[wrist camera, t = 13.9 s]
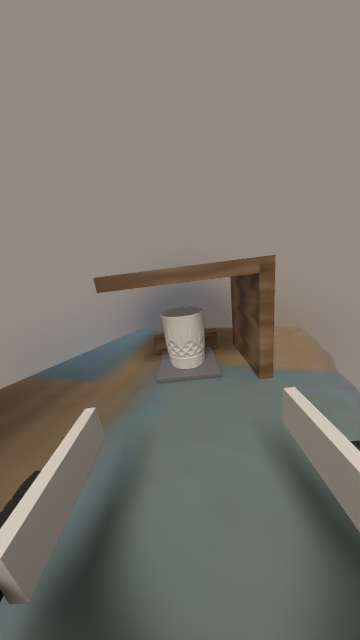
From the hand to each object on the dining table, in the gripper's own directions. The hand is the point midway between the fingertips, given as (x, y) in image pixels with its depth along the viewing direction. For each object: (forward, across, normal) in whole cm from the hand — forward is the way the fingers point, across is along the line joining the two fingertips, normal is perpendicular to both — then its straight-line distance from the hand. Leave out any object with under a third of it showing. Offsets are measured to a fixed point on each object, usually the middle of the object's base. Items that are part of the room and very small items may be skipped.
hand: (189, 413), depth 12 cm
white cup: (+20, 0, -7) cm, 22 cm away
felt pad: (+20, 0, -8) cm, 22 cm away
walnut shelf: (+21, +1, -8) cm, 22 cm away
